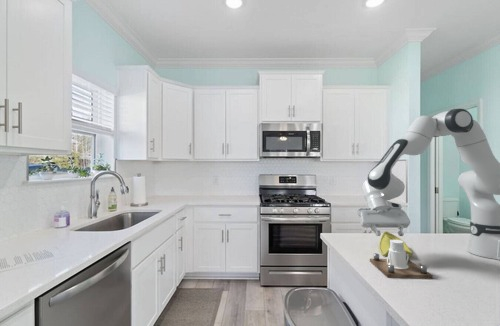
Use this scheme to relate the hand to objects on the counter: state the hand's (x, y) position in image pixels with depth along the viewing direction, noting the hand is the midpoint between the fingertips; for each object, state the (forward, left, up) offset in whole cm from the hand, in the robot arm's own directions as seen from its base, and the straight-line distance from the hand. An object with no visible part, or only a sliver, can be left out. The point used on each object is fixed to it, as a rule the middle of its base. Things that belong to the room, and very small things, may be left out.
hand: (390, 235), depth 108 cm
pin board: (0, +7, -12) cm, 13 cm away
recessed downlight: (0, +7, -11) cm, 13 cm away
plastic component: (-9, -15, -12) cm, 21 cm away
